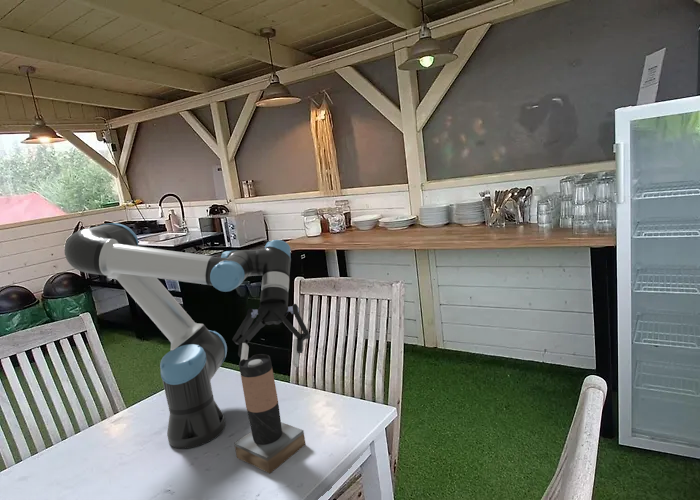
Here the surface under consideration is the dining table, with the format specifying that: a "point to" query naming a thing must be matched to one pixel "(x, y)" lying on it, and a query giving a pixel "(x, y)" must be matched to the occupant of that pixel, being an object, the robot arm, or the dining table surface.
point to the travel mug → (261, 398)
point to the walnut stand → (270, 448)
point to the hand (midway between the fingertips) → (269, 367)
